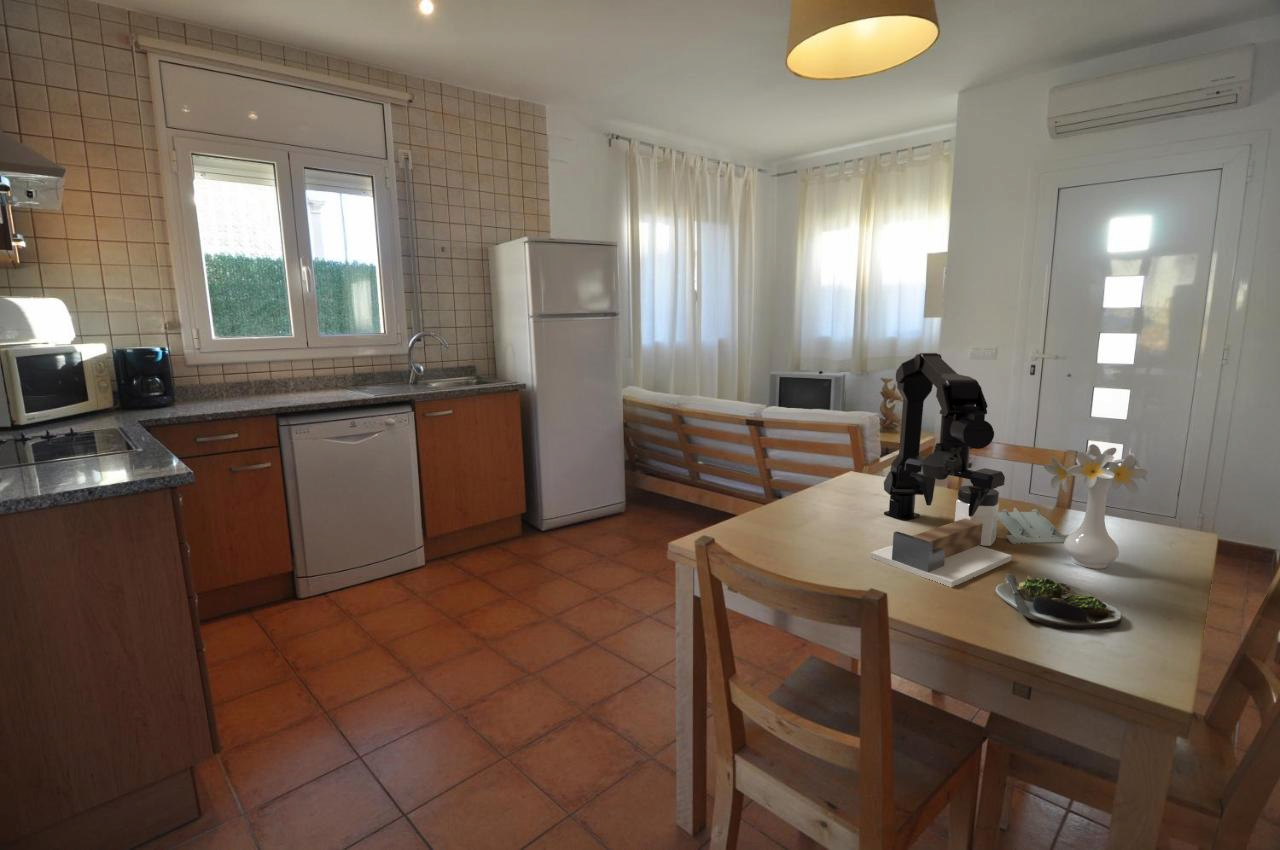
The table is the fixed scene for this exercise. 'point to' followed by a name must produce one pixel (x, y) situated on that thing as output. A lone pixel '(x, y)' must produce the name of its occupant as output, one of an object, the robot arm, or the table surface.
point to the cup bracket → (916, 552)
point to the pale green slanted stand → (1029, 527)
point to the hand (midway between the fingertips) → (949, 510)
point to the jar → (980, 513)
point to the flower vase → (1096, 501)
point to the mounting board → (952, 564)
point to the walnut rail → (954, 536)
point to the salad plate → (1058, 604)
